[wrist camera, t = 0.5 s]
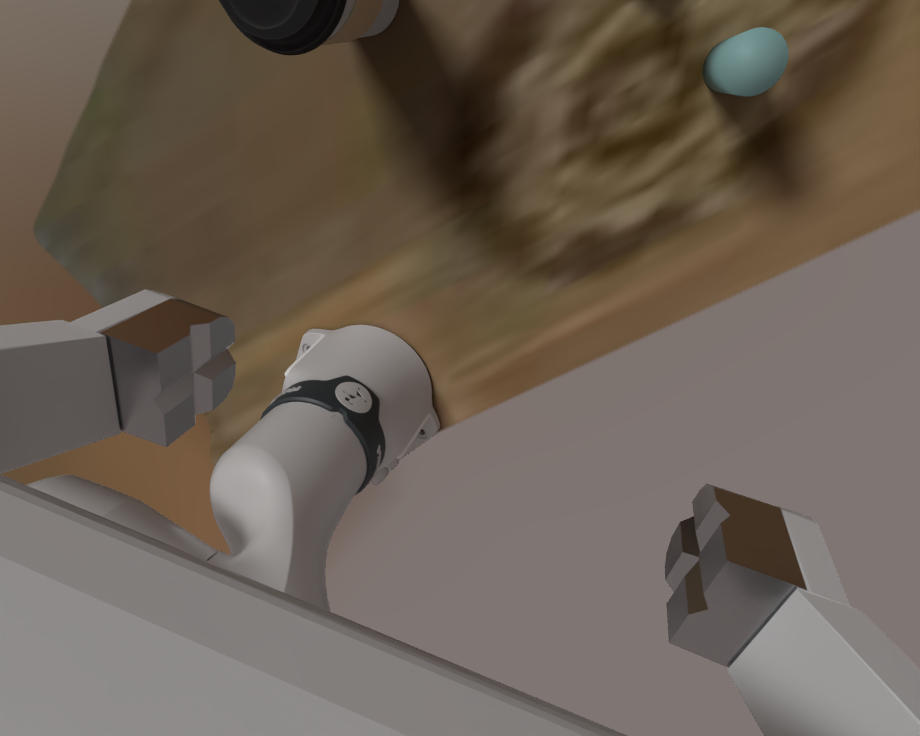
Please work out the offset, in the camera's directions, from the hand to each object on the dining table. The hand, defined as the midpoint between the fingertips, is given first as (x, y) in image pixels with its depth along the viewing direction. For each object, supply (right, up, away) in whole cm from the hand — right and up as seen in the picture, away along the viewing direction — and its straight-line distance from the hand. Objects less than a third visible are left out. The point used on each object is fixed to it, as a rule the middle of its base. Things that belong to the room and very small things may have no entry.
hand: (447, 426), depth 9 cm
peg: (+20, +24, +32) cm, 45 cm away
